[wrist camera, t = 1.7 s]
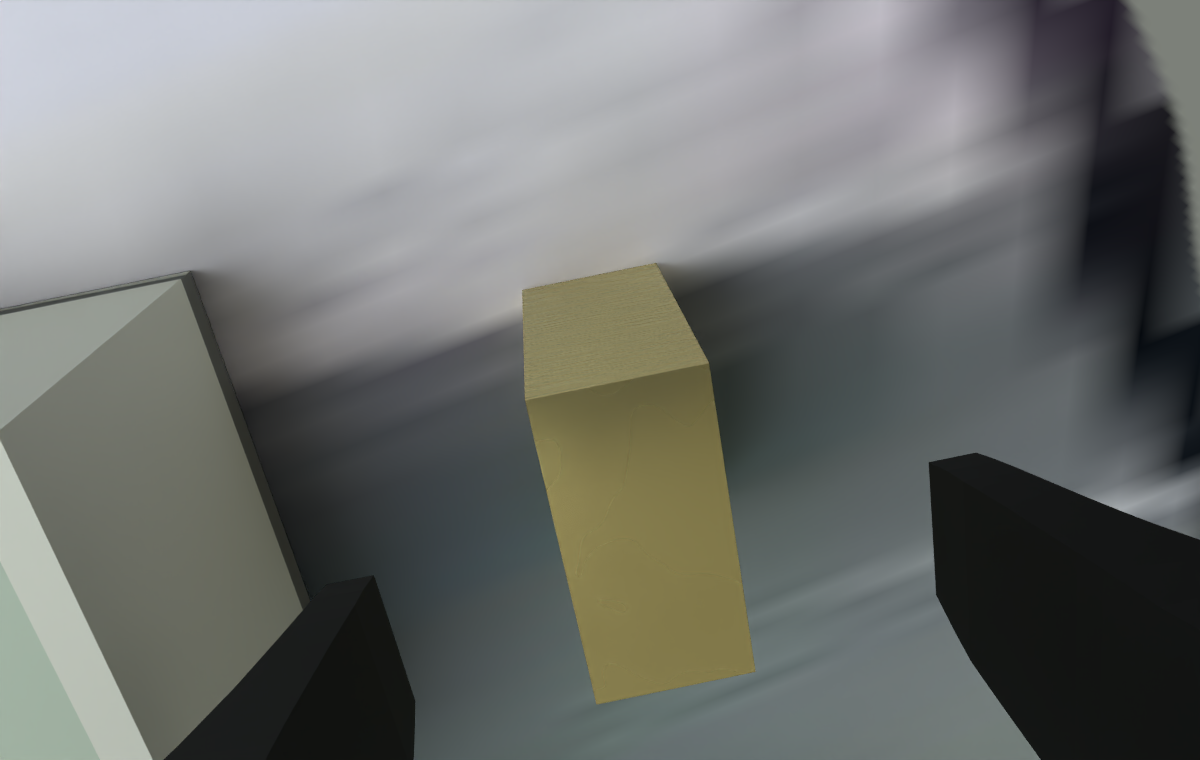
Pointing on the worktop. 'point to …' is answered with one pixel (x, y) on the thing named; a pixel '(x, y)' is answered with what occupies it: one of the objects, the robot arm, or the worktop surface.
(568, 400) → the block
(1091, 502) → the robot arm
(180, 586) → the box
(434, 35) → the worktop surface
